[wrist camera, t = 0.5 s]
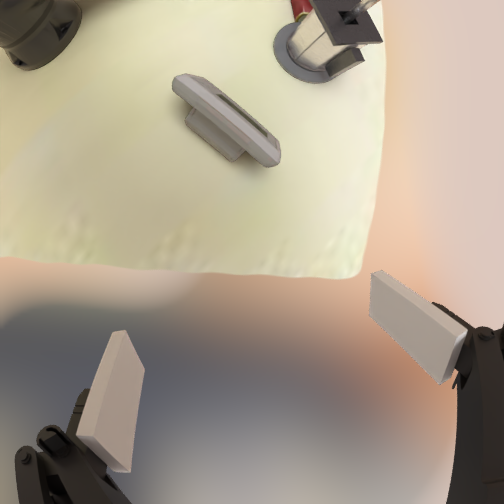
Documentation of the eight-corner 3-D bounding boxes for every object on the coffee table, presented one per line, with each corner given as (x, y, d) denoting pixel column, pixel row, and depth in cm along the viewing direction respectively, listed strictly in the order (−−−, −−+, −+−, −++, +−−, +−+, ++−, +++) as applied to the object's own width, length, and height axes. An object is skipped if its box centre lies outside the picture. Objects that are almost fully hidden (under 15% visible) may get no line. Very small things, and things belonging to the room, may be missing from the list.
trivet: (262, 29, 32) (263, 27, 31) (325, 21, 33) (326, 19, 32) (290, 90, 36) (291, 88, 36) (351, 77, 37) (354, 76, 36)
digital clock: (281, 149, 39) (307, 144, 29) (233, 185, 40) (244, 190, 30) (217, 68, 34) (223, 38, 24) (167, 102, 34) (156, 81, 24)
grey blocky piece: (277, 33, 32) (305, -7, 20) (322, 28, 33) (359, -6, 21) (302, 86, 36) (340, 60, 24) (345, 77, 36) (391, 56, 24)
